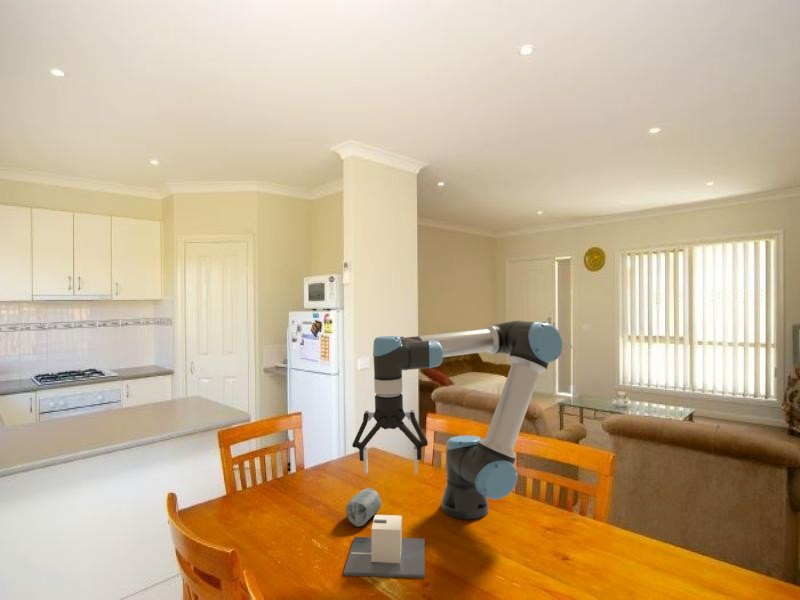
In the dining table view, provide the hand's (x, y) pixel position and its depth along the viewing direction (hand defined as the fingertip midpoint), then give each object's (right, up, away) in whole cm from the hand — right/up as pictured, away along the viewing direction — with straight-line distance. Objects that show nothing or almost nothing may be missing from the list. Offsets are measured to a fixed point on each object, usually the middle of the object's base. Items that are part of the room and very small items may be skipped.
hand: (391, 472), depth 118 cm
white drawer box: (-1, -21, -3) cm, 21 cm away
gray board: (-1, -22, -3) cm, 22 cm away
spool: (-9, -22, +18) cm, 30 cm away
